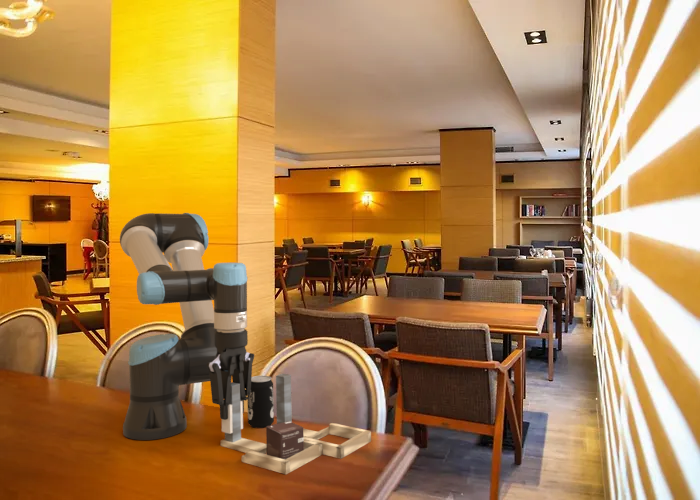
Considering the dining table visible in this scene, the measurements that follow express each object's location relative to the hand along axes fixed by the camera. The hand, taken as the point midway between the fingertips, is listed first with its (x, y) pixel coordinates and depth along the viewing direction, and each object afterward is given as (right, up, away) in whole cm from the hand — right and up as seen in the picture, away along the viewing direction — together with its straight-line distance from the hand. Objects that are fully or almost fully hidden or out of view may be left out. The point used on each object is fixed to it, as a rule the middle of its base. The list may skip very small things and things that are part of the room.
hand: (232, 429), depth 134 cm
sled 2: (+19, -3, +2) cm, 20 cm away
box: (+13, -4, -10) cm, 17 cm away
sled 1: (+8, -3, -5) cm, 10 cm away
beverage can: (+4, -3, +14) cm, 15 cm away
